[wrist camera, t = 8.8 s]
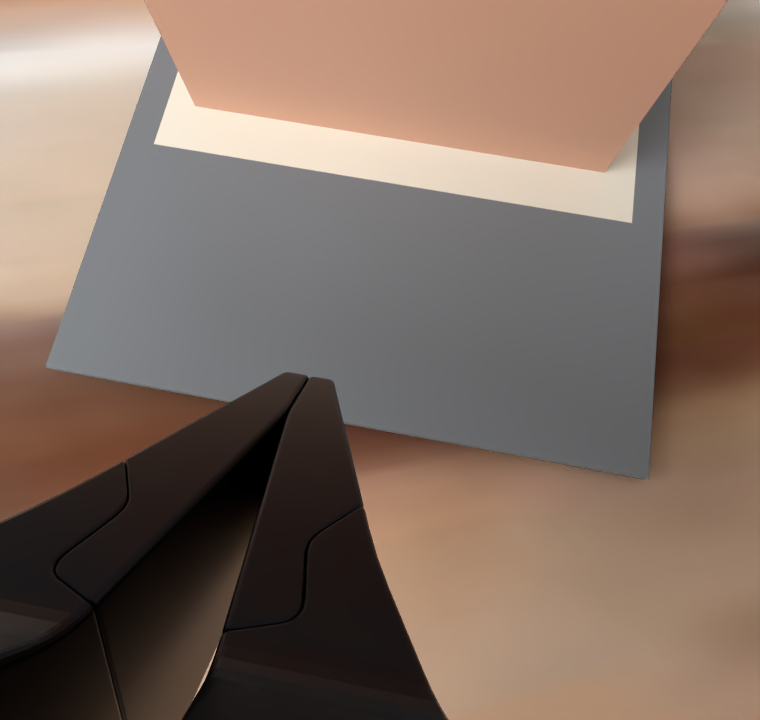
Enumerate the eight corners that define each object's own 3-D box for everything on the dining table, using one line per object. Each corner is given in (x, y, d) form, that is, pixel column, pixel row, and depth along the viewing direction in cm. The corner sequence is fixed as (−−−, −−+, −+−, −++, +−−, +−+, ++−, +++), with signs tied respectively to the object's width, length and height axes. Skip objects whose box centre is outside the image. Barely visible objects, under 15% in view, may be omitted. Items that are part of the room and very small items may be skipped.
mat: (641, 479, 15) (648, 478, 15) (53, 369, 16) (45, 367, 15) (677, -104, 20) (682, -115, 20) (238, -165, 21) (235, -177, 21)
